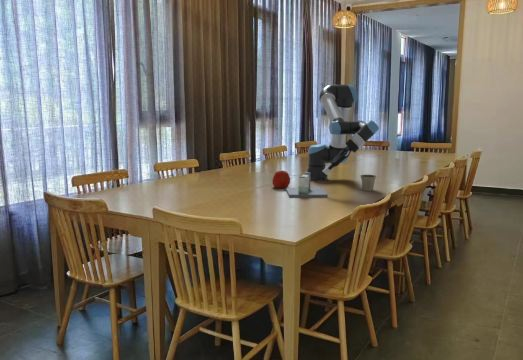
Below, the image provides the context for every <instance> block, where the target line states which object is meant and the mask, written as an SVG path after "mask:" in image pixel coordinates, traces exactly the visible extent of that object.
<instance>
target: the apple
mask: <svg viewBox="0 0 523 360" xmlns="http://www.w3.org/2000/svg"><path fill="white" fill-rule="evenodd" d="M290 184H291V177H290V175H289V173H288V172H287V171H285V170H278V171H276V172H274V175H273V177H272V185H273V187H274V188H276V189H284V188H285V189H286V188H289V185H290Z"/></svg>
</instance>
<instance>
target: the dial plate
mask: <svg viewBox="0 0 523 360" xmlns="http://www.w3.org/2000/svg"><path fill="white" fill-rule="evenodd" d="M285 191H286V194H287V195H288V197H289V198H328V193H327V192H326V191H325V189H323V188H322V187H311V186H310V188H309V189H308V187H307V186H306V187H305V192H301V186H299V185H298V187H285Z"/></svg>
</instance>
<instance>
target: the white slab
mask: <svg viewBox="0 0 523 360" xmlns="http://www.w3.org/2000/svg"><path fill="white" fill-rule="evenodd" d="M310 174H311V173H310V172H307V171H305V172H303V174H302V175H299V176H298V179H299V180H298V186H301V192H305V187H306V186H307V187H308V189H309V188H311V180H310Z"/></svg>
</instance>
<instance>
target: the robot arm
mask: <svg viewBox="0 0 523 360" xmlns="http://www.w3.org/2000/svg"><path fill="white" fill-rule="evenodd" d="M357 94H358V92H357V89H356V87H355V86H354V85H353V84H328V85H326V86H324V87H323V88H322V89H321V91H320V93H319V96H318V100H319V102H320V104H321V106H322V107H323V108H324V111H325V112H326V114H327V117H328V120H329V121H330V122H329V127H328V130H329V133H330V135H332V137H331V138H332V141H330V142H329V146H328V145H326V144H325V143H319V144H312V145H310V146H309V147H308V159H307V160H308V161H307V164H308V166H307V170H306V172H310V173H311V174H310V181H325V180H328V178H329V177H328V176H329V175H328V174H329V173H330V172H331V171H332V170H333V169H334V168H335V167H338V166H339V165H340V164H344V163H346V162H347V161H348V159H349V157H350V155H351V152H352V153H356V152H358V151H359V150H360V148H361V147H362V146H365V144H366V143H367V142H368V141H369V140H370V139H371V138H372V137H373V136H374V135H375V134H377V132H378V131H379V130H380V127H379V125H378V124H377V123H376V122H375V121H373V120H372V119H369V120H368V121H366V122H365V121H364V120H359V119H358V120H355V121H349V115H350V109H352V108H353V105H354V104H355V103H357V100H358V95H357ZM347 135H348V136H349V135H352V136H351V137H350V139H348V140H347V141H346V136H347ZM326 164H328V165H327V166H326Z"/></svg>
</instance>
